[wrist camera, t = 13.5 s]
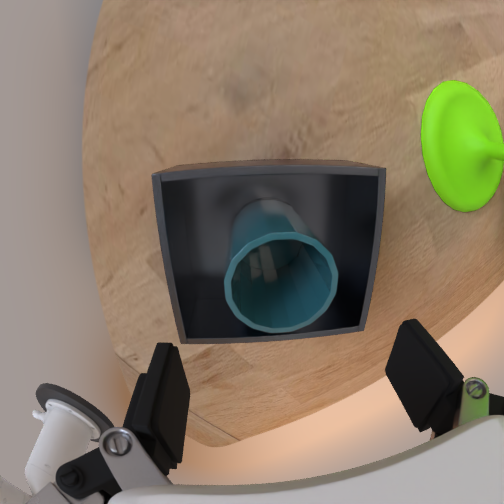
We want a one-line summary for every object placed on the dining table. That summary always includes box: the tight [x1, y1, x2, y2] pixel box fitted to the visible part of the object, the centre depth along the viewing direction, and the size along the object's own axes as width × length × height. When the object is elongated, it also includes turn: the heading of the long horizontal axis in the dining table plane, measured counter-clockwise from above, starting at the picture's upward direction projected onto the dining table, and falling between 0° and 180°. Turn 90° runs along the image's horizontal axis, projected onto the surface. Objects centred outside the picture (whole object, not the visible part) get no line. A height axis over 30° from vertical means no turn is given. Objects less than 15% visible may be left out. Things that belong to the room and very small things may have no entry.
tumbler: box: [224, 200, 338, 333], centre depth 19 cm, size 7×7×9 cm
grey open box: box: [152, 159, 386, 344], centre depth 21 cm, size 15×13×7 cm
